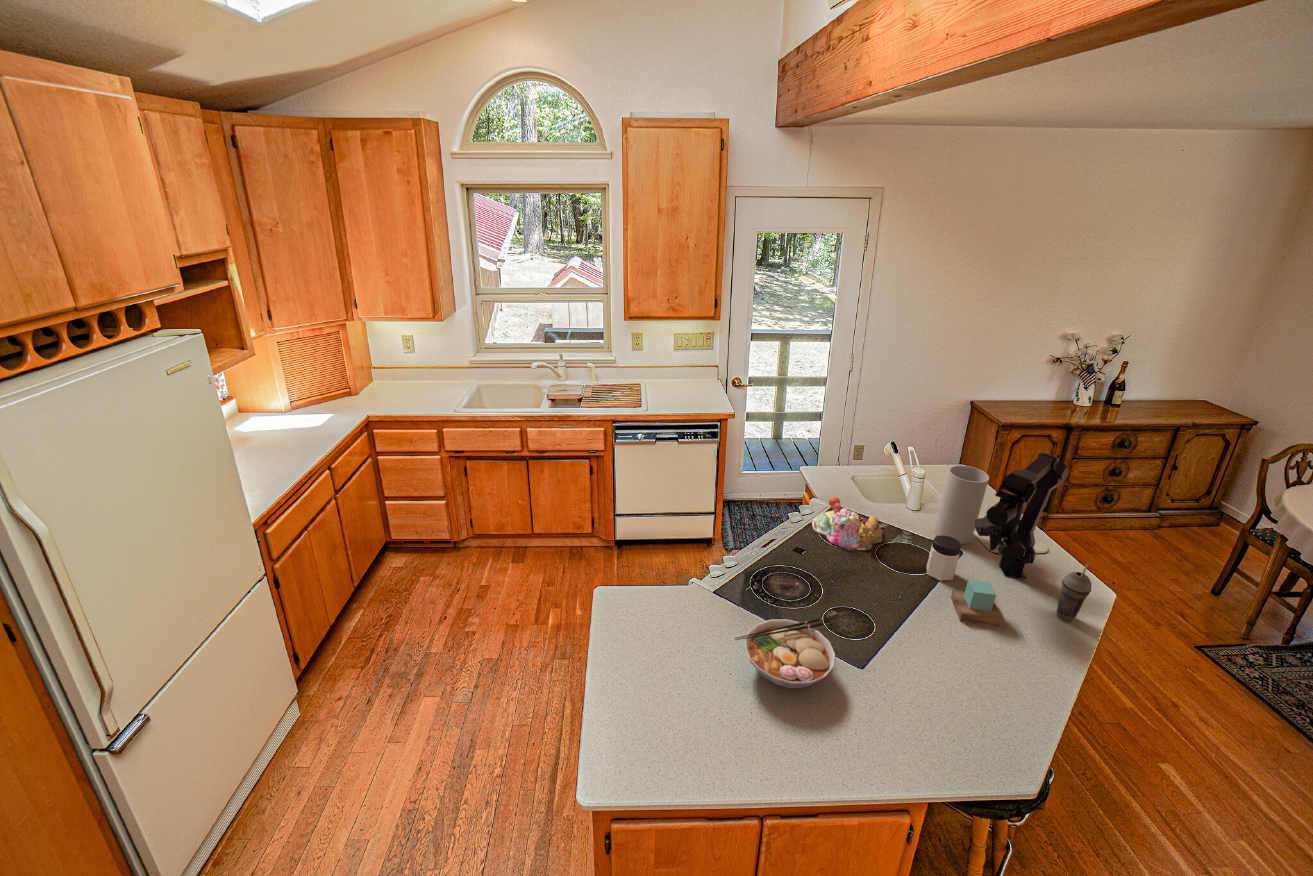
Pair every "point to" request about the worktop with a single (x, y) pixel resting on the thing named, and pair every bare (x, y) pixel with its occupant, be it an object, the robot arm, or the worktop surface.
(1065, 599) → the beverage cup
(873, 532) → the pastel sphere sculpture
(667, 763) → the worktop surface
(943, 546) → the jar
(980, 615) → the walnut base
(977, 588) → the teal block
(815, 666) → the ramen bowl
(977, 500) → the cylinder vase
